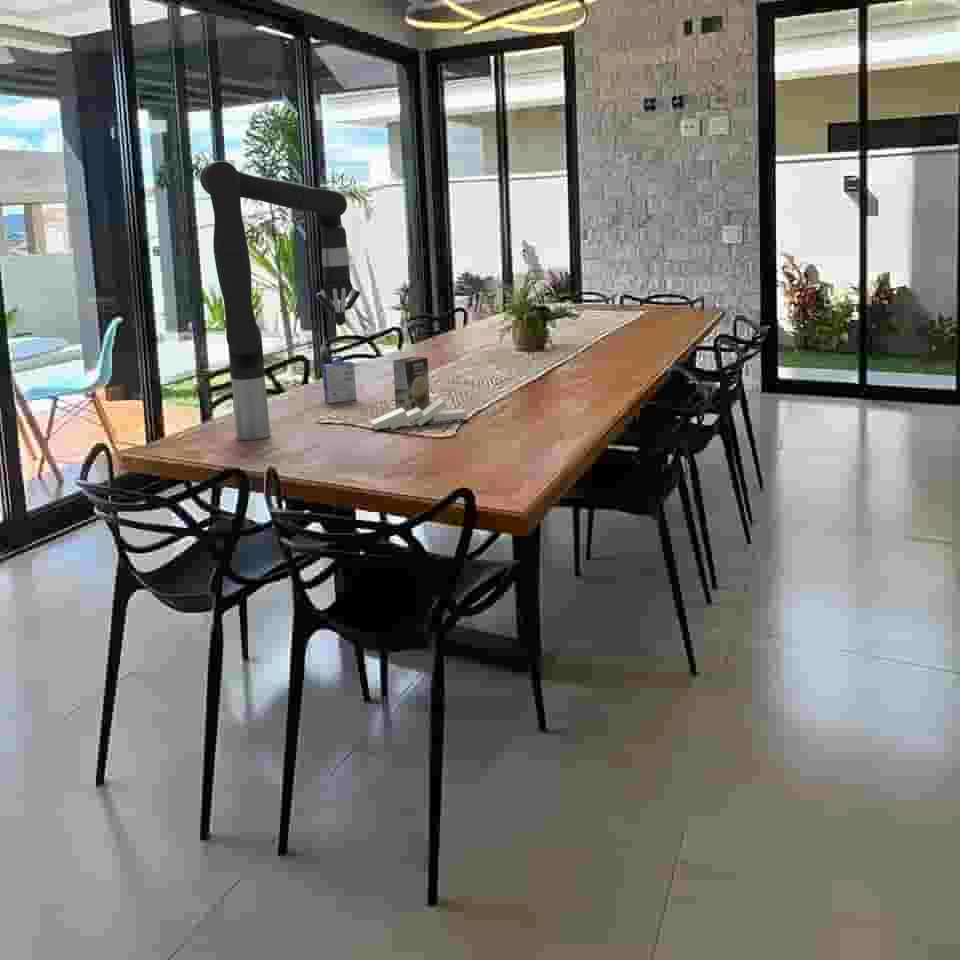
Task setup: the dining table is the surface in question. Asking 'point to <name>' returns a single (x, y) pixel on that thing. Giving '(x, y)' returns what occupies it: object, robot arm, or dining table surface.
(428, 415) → the domino
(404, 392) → the coffee box
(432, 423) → the end domino
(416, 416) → the domino
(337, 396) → the ink cartridge box
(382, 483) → the dining table surface
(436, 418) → the domino
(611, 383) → the dining table surface
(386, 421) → the domino
